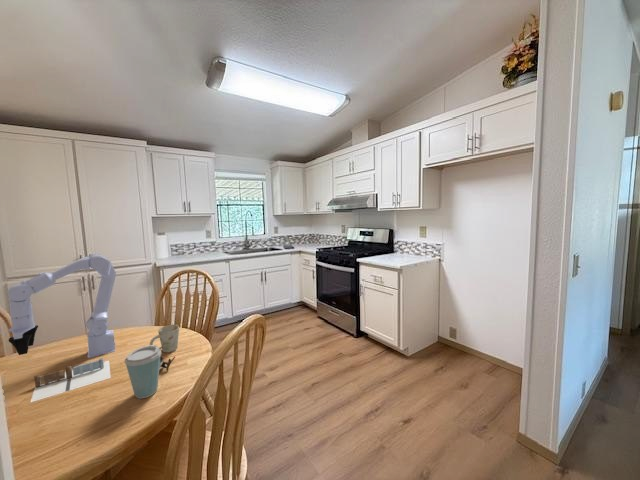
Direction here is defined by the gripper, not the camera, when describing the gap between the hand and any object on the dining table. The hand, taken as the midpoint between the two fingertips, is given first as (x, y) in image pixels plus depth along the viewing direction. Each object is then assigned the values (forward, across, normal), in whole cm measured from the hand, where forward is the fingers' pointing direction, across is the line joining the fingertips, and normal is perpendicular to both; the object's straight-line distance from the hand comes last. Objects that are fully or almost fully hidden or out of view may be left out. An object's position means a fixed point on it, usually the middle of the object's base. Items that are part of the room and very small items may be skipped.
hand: (26, 349), depth 104 cm
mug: (+10, +11, +45) cm, 48 cm away
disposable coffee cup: (+10, +40, +36) cm, 55 cm away
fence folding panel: (+9, +13, +19) cm, 25 cm away
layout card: (+10, +15, +15) cm, 24 cm away
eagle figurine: (+10, +26, +42) cm, 51 cm away
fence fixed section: (+9, +14, +9) cm, 19 cm away
